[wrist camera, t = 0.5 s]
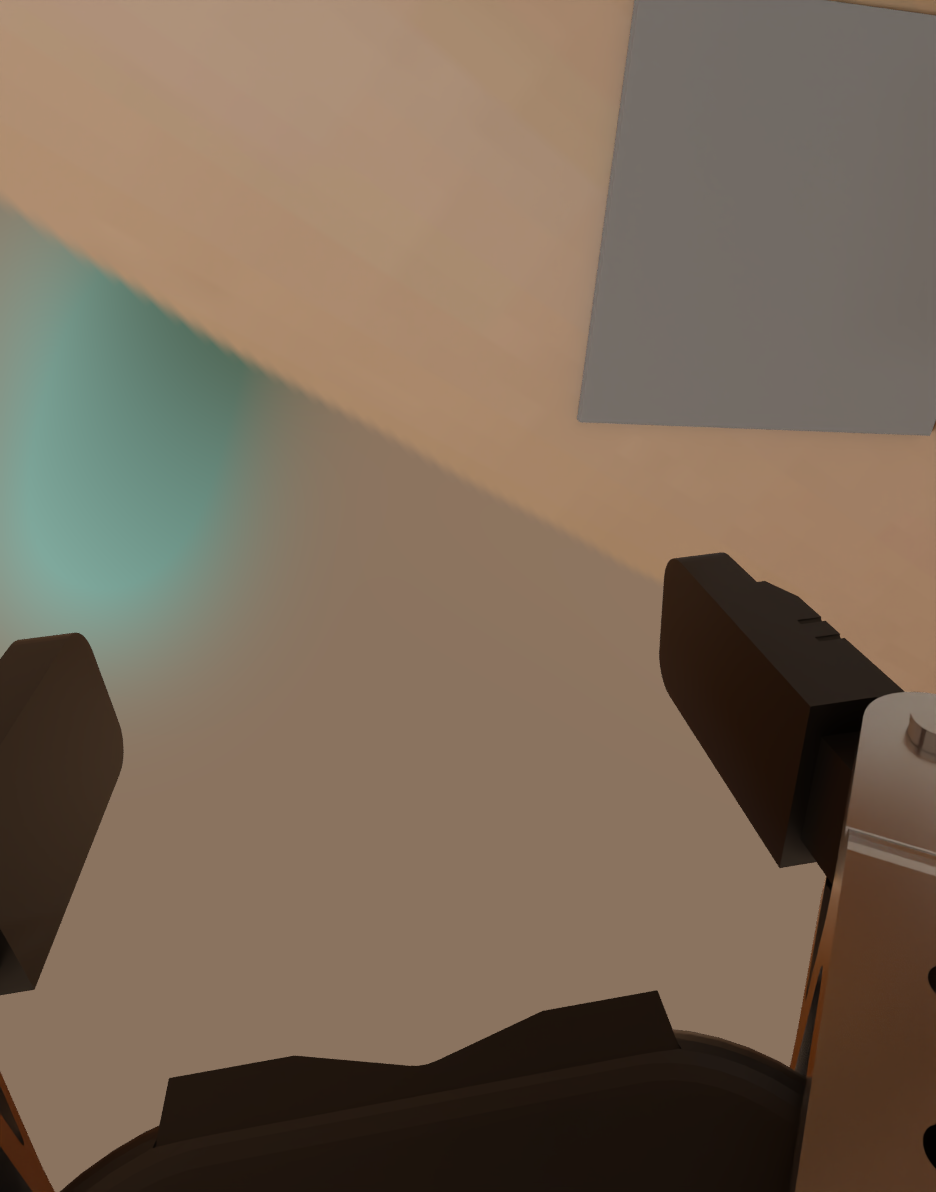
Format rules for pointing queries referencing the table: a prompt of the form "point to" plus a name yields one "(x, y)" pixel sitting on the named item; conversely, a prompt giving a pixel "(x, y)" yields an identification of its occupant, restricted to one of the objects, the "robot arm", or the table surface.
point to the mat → (770, 222)
